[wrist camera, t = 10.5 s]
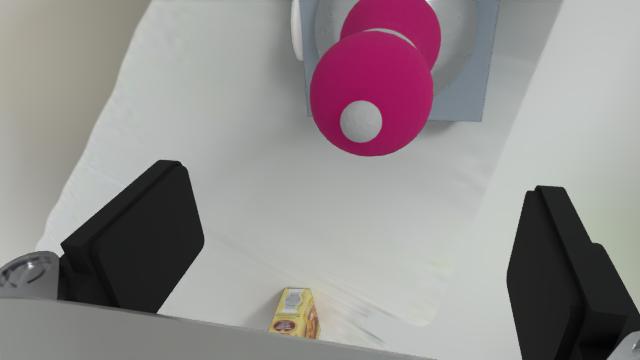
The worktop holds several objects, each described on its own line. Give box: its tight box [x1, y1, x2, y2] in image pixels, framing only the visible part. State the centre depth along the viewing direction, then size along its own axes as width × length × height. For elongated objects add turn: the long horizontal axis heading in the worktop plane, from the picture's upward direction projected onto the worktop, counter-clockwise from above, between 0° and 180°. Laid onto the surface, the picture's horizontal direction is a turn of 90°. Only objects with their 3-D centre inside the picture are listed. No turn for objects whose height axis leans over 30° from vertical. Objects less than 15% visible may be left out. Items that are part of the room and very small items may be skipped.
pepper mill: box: [310, 0, 441, 156], centre depth 25 cm, size 7×7×20 cm
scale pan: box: [315, 0, 478, 97], centre depth 34 cm, size 13×13×1 cm
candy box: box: [268, 288, 321, 340], centre depth 54 cm, size 9×4×15 cm, turn 11°
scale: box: [291, 0, 499, 122], centre depth 36 cm, size 17×16×6 cm
